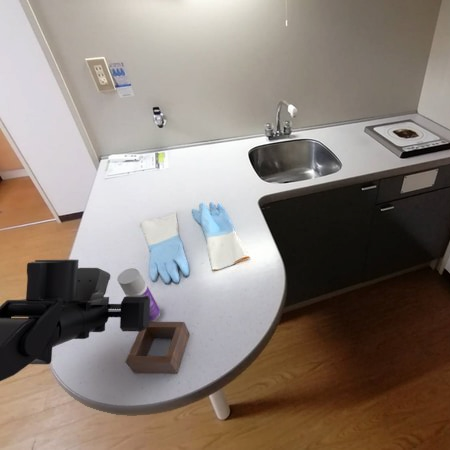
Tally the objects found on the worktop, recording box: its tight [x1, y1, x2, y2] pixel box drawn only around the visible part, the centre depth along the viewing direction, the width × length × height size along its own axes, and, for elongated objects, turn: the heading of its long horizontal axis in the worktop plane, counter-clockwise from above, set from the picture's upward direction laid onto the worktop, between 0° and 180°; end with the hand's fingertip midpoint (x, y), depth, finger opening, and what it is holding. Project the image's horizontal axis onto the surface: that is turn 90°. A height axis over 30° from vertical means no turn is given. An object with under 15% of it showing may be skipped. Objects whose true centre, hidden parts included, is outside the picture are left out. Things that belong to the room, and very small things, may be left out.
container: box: [117, 267, 161, 322], centre depth 72 cm, size 5×5×15 cm
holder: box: [124, 321, 190, 374], centre depth 67 cm, size 9×9×5 cm
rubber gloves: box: [140, 201, 251, 284], centre depth 95 cm, size 27×33×6 cm
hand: (123, 304), depth 65 cm, fingers open, 9 cm apart
